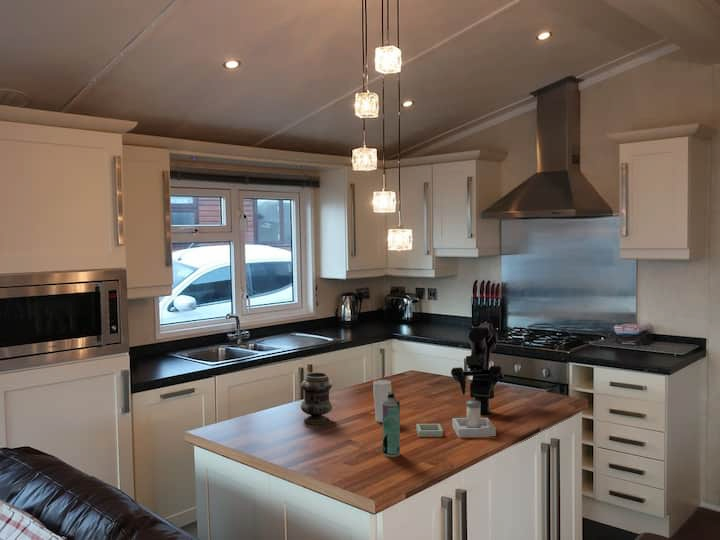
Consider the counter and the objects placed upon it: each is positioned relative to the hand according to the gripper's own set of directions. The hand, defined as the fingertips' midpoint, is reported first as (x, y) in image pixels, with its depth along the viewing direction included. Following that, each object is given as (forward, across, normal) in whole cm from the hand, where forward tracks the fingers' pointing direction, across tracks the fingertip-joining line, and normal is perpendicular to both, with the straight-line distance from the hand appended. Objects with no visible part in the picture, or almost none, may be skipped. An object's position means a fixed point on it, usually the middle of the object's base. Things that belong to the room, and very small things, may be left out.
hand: (475, 394), depth 227 cm
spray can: (+32, -20, -22) cm, 44 cm away
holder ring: (+16, -15, -3) cm, 22 cm away
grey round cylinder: (+12, -1, +4) cm, 12 cm away
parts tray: (+12, -1, +4) cm, 13 cm away
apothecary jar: (+14, -59, -8) cm, 61 cm away
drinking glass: (+10, -36, +1) cm, 37 cm away
